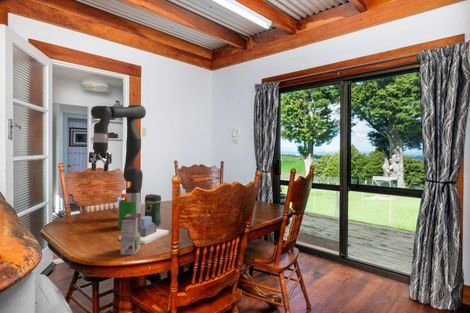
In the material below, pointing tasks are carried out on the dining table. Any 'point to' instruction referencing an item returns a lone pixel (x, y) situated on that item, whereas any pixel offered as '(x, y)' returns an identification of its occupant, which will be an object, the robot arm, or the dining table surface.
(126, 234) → the coffee box
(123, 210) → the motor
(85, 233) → the dining table surface
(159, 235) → the board
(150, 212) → the coffee jar
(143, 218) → the block
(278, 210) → the dining table surface
